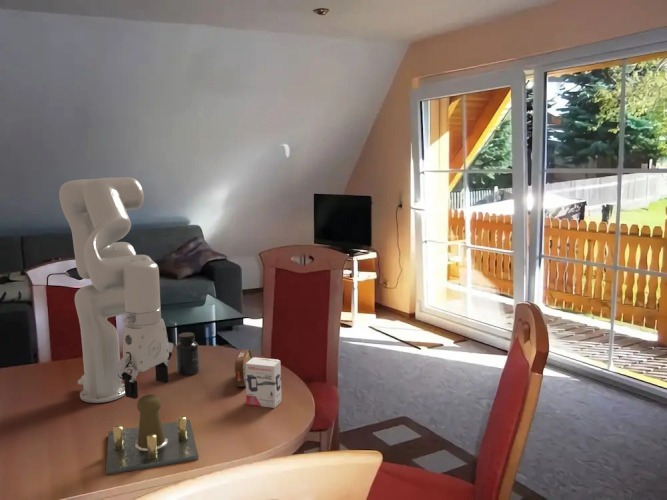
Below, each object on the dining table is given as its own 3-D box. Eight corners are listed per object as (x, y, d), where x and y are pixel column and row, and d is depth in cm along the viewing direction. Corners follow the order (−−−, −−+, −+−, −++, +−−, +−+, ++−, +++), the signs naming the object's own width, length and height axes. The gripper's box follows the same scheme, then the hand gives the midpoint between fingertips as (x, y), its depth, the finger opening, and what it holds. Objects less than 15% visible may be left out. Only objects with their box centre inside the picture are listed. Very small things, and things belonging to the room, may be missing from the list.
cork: (150, 450, 135) (147, 404, 133) (131, 444, 138) (128, 398, 136) (170, 440, 140) (168, 394, 139) (152, 434, 143) (149, 389, 142)
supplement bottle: (196, 366, 191) (195, 330, 189) (202, 373, 185) (200, 336, 183) (174, 370, 189) (172, 333, 187) (179, 377, 182) (177, 339, 180)
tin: (245, 391, 172) (244, 362, 170) (234, 391, 172) (233, 362, 170) (253, 372, 186) (252, 345, 185) (243, 372, 187) (242, 345, 185)
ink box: (245, 404, 162) (244, 362, 160) (253, 397, 167) (252, 356, 165) (275, 408, 160) (274, 365, 158) (282, 401, 164) (281, 359, 162)
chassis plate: (106, 474, 127) (104, 448, 126) (108, 435, 145) (107, 412, 144) (198, 459, 133) (197, 433, 132) (189, 423, 151) (188, 400, 150)
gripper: (127, 329, 125) (131, 407, 128) (182, 309, 140) (185, 379, 144) (100, 324, 128) (105, 400, 132) (157, 305, 144) (161, 373, 147)
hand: (147, 389), depth 138 cm, fingers open, 9 cm apart
